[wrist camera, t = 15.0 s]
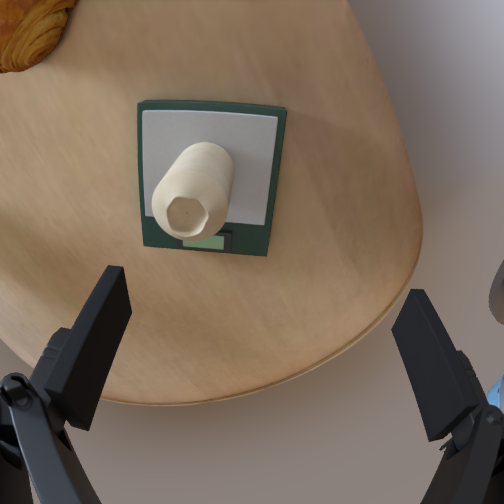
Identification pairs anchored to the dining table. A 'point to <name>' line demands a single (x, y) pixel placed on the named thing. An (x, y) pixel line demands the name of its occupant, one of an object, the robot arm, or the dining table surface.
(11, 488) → the robot arm
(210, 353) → the dining table surface
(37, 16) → the croissant
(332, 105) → the dining table surface
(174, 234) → the candle
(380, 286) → the dining table surface
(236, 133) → the scale
